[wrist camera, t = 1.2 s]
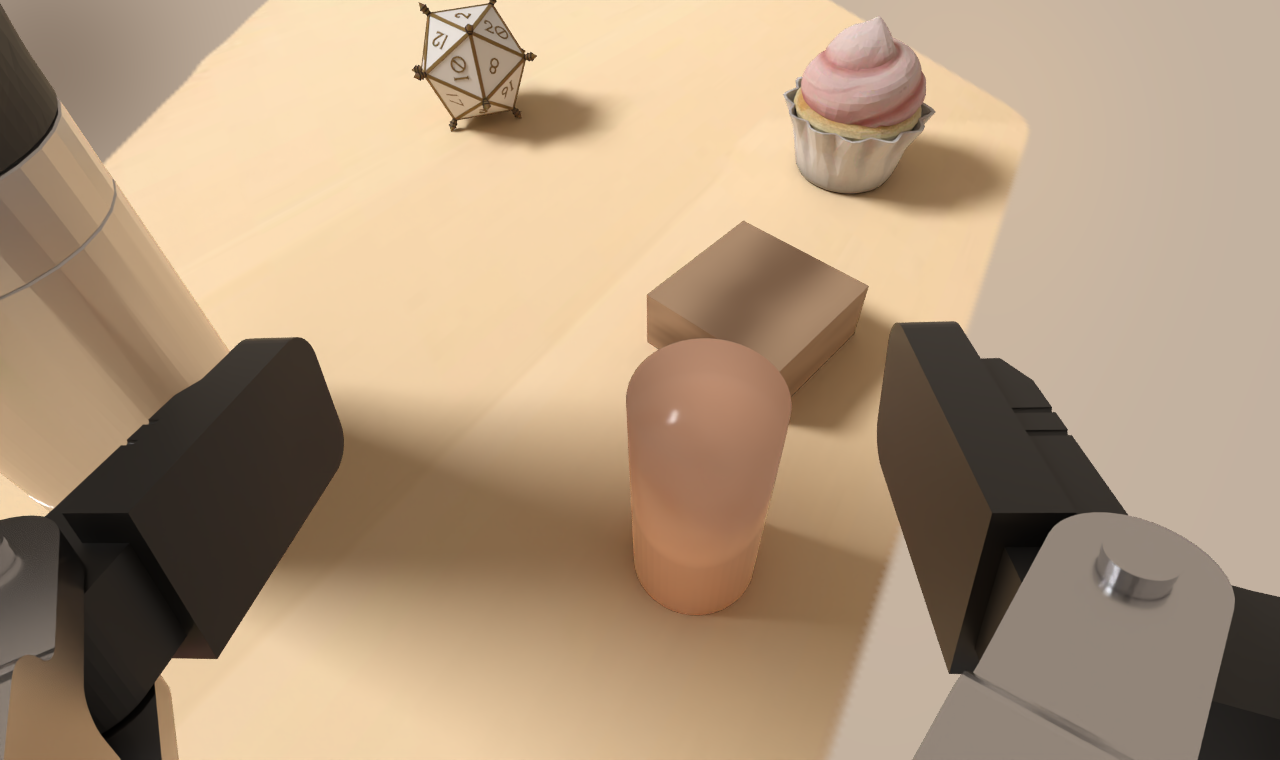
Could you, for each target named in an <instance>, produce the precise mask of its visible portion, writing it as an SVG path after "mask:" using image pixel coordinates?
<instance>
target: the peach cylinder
mask: <svg viewBox="0 0 1280 760" xmlns="http://www.w3.org/2000/svg"><path fill="white" fill-rule="evenodd" d="M791 407H792V403H791V395H790V392H789V389H788V386H787V384H786V382H785V380H784V378H783V377H782V375H781V374H780V372H779V371H778V370H777V369H776V367H775V366H774V365H773V364H772V363H771V362H770V361H768V360H767V359H766V358H765V357H763V356H762V355H760V354H759V353H757V352H756V351H754V350H752V349H750V348H748V347H745V346H743V345H741V344H737V343H734V342H731V341H726V340H721V339H711V338H699V339H689V340H684V341H680V342H676V343H673V344H670V345H668V346H665V347H663V348H661V349H659V350H658V351H656V352H654V353H653V354H651V355H650V356H649V357H647V358H646V359H645V360H644V361H643V362H642V363H641V364H640V365H639V367H638V368H637V369H636V370H635V372H634V374H633V376H632V377H631V380H630V382H629V385H628V389H627V395H626V408H627V429H628V450H629V471H630V492H631V512H632V533H633V554H634V566H635V570H636V574H637V576H638V579H639V581H640V583H641V585H642V586H643V588H644V589H645V590H646V592H647V593H648V594H649V595H650V596H651V597H652V598H653V599H654V600H655V601H657V602H658V603H659V604H661V605H662V606H664V607H666V608H668V609H670V610H672V611H675V612H678V613H682V614H688V615H705V614H710V613H714V612H717V611H720V610H723V609H725V608H726V607H728V606H730V605H731V604H733V603H734V602H735V601H737V600H738V599H739V598H740V597H741V596H742V594H743V593H744V592H745V590H746V589H747V587H748V585H749V583H750V581H751V578H752V575H753V571H754V567H755V563H756V559H757V554H758V550H759V546H760V542H761V538H762V534H763V529H764V525H765V521H766V517H767V513H768V509H769V504H770V500H771V496H772V492H773V488H774V484H775V479H776V475H777V471H778V467H779V463H780V459H781V454H782V450H783V446H784V442H785V438H786V434H787V429H788V425H789V421H790V416H791Z"/></svg>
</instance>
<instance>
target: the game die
mask: <svg viewBox="0 0 1280 760" xmlns="http://www.w3.org/2000/svg"><path fill="white" fill-rule="evenodd" d="M495 2H497V1H496V0H490V1H489V3H488V4H482V5H475V6H469V7H463V8H456V9H450V10H444V11H437V12H430V11H429V8H427V6H426V4H425V5H424V4H422V3H419V5H420V11H422V12H423V14H426V15H427V23H426V32H425V40H424V49H423V57H422V66H419V65H418V66H415V67H414V68H413V69H412V71H414V72H415V76H414V78H417V79H418V80H420V81H421V79H423V80H424V78H426V80H427V81H428V83H429V84H430V86H431V87H432V88H433V90H434V91H435V93H436V94H437V96H438V97H439V99H440V100H441V102H442V103H443V105H444V106H445V108H446V109H447V111H448V112H449V114H450V115H451V116H452V118H453V119H452V121H450V122H451V123H450V124H449V125H450V129H451V131H453V130H454V129H455V128H456V125H457V120H461V119H467V118H472V117H477V116H483V115H488V114H494V113H499V112H505V111H510V110H512V112H513V114H514V115H515V117H519V118H521V113H520V112H521V111H519V110H518V109H516V108H515V103H516V99H517V95H518V90H519V86H520V82H521V78H522V74H523V69H524V65H525V61H526V60H528V61H530V60H532V61H533V60H534V58H536V57H537V56H536V55H534V54H533V53H531V52H530V53H527V54H526V55H525V54H524V53H525V50H523V49H522V48H521V47H520V46H519V44H518V43H517V41H516V40H515V38H514V37H513V35H512V33H511V32H510V30H509V29H508V27H507V26H506V24H505V22H504V21H503V19H502V18H501V16H500V15H499V13H498V12H497V10H496V8H495V7H494V4H495Z"/></svg>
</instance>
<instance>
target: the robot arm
mask: <svg viewBox="0 0 1280 760" xmlns="http://www.w3.org/2000/svg"><path fill="white" fill-rule="evenodd" d="M1051 410H1052V407H1051V405H1050V404H1049V402H1048V401H1047V400H1046V398H1045V397H1044V395H1043V394H1042V393H1041V391H1040V390H1039V388H1038V387H1037V386H1036V384H1035V383H1034V381H1033V380H1032V379H1030V378H1029V377H1027V376H1025V375H1024V374H1023V373H1021V372H1020V371H1018V370H1017V369H1015V368H1014V367H1012V366H1010V365H1009V364H1008V363H1006V362H1005V361H1003V360H1002V359H1000V358H989V359H988V358H987V359H980V357H979V355H978V354H977V352H976V351H975V349H974V347H973V346H972V344H971V343H970V341H969V339H968V338H967V336H966V335H965V333H964V331H963V330H962V328H961V327H960V325H959V324H958V323H957V322H954V321H949V322H911V323H895V324H894V325H893V327H892V329H891V332H890V336H889V342H888V348H887V356H886V363H885V370H884V377H883V385H882V392H881V399H880V406H879V413H878V422H877V445H878V454H879V460H880V464H881V468H882V471H883V474H884V477H885V480H886V483H887V486H888V489H889V492H890V495H891V498H892V501H893V504H894V508H895V511H896V514H897V517H898V520H899V523H900V526H901V529H902V532H903V535H904V538H905V541H906V544H907V547H908V550H909V553H910V556H911V559H912V562H913V565H914V568H915V571H916V575H917V578H918V581H919V584H920V587H921V590H922V593H923V596H924V599H925V602H926V605H927V608H928V611H929V614H930V617H931V620H932V623H933V626H934V629H935V632H936V636H937V639H938V642H939V644H940V648H941V651H942V654H943V657H944V660H945V663H946V666H947V669H948V672H949V674H961V676H960V677H959V679H958V680H957V682H956V683H955V685H954V686H953V688H952V690H951V691H950V693H949V695H948V697H947V699H946V700H945V702H944V704H943V706H942V708H941V709H940V711H939V713H938V715H937V716H936V718H935V720H934V722H933V724H932V725H931V727H930V729H929V731H928V733H927V734H926V736H925V738H924V740H923V742H922V743H921V745H920V747H919V749H918V751H917V752H916V754H915V756H914V758H913V760H1280V597H1277V596H1272V595H1268V594H1264V593H1259V592H1254V591H1251V590H1246V589H1243V588H1239V587H1236V586H1232V585H1231V584H1230V582H1229V580H1228V578H1227V576H1226V575H1225V573H1224V572H1223V571H1222V569H1221V568H1220V567H1219V565H1218V564H1217V563H1216V562H1215V561H1214V560H1213V559H1212V558H1211V557H1210V556H1209V555H1208V554H1206V553H1205V552H1204V551H1203V550H1201V549H1200V548H1199V547H1198V546H1197V545H1195V544H1193V543H1192V542H1190V541H1189V540H1187V539H1186V538H1184V537H1182V536H1181V535H1179V534H1177V533H1175V532H1173V531H1171V530H1169V529H1167V528H1164V527H1162V526H1160V525H1158V524H1155V523H1153V522H1149V521H1146V520H1143V519H1140V518H1136V517H1132V516H1128V514H1127V513H1126V511H1125V510H1124V509H1123V507H1122V506H1121V504H1120V503H1119V502H1118V500H1117V499H1116V497H1115V496H1114V494H1113V493H1112V492H1111V490H1110V489H1109V487H1108V486H1107V485H1106V483H1105V482H1104V481H1103V479H1102V478H1101V476H1100V475H1099V473H1098V472H1097V470H1096V469H1095V468H1094V466H1093V465H1092V463H1091V462H1090V460H1089V459H1088V458H1087V456H1086V455H1085V453H1084V452H1083V451H1082V449H1081V448H1080V446H1079V445H1078V443H1077V442H1076V441H1075V439H1074V438H1073V436H1072V435H1068V434H1067V430H1068V429H1067V428H1066V426H1065V425H1064V424H1063V422H1062V421H1061V419H1060V418H1059V417H1058V415H1057V414H1056V413H1055V412H1053V413H1052V411H1051ZM343 447H344V438H343V431H342V427H341V423H340V420H339V418H338V415H337V412H336V409H335V407H334V404H333V401H332V398H331V396H330V393H329V390H328V387H327V385H326V382H325V379H324V376H323V374H322V371H321V368H320V365H319V362H318V360H317V357H316V354H315V352H314V350H313V348H312V346H311V345H310V344H309V343H308V342H307V341H306V340H305V339H303V338H299V337H293V338H255V339H245V340H243V341H241V342H240V343H239V344H238V345H237V346H236V347H235V348H234V349H232V350H231V351H229V350H228V348H227V347H226V345H225V344H224V342H223V341H222V339H221V338H220V336H219V335H218V333H217V332H216V331H215V329H214V328H213V326H212V325H211V323H210V322H209V320H208V319H207V317H206V316H205V314H204V313H203V311H202V310H201V308H200V307H199V305H198V304H197V302H196V301H195V299H194V298H193V296H192V295H191V293H190V292H189V290H188V289H187V287H186V286H185V284H184V283H183V282H182V280H181V279H180V277H179V276H178V274H177V273H176V271H175V270H174V268H173V267H172V265H171V264H170V262H169V261H168V259H167V258H166V256H165V255H164V253H163V252H162V250H161V249H160V247H159V246H158V244H157V243H156V241H155V240H154V238H153V237H152V235H151V234H150V233H149V231H148V230H147V228H146V227H145V225H144V224H143V222H142V221H141V219H140V218H139V216H138V215H137V213H136V212H135V210H134V209H133V207H132V206H131V204H130V203H129V201H128V200H127V198H126V197H125V195H124V194H123V192H122V191H121V189H120V188H119V186H118V185H117V184H116V182H115V181H114V179H113V178H112V176H111V175H110V173H109V172H108V171H107V169H106V168H105V167H104V165H103V164H102V162H101V161H100V159H99V158H98V156H97V155H96V153H95V152H94V150H93V149H92V147H91V146H90V144H89V143H88V141H87V140H86V138H85V137H84V136H83V134H82V132H81V131H80V129H79V128H78V126H77V125H76V123H75V122H74V120H73V119H72V117H71V116H70V114H69V113H68V111H67V110H66V108H65V107H64V105H63V104H62V103H61V101H60V100H59V98H58V97H57V95H56V93H55V91H54V89H53V88H52V86H51V85H50V83H49V82H48V80H47V79H46V77H45V76H44V74H43V73H42V71H41V70H40V69H39V67H38V66H37V64H36V63H35V61H34V60H33V58H32V57H31V55H30V54H29V52H28V50H27V49H26V47H25V45H24V44H23V42H22V41H21V39H20V37H19V36H18V34H17V32H16V30H15V29H14V27H13V25H12V23H11V21H10V20H9V18H8V16H7V14H6V13H5V11H4V9H3V7H2V6H1V4H0V473H1V474H3V475H4V476H5V477H6V478H8V479H9V480H10V481H11V482H13V483H14V484H15V485H17V486H18V487H19V488H20V489H22V490H23V491H24V492H26V493H27V494H28V495H29V496H30V497H31V498H33V499H34V500H35V501H36V502H38V503H39V504H40V505H42V506H43V507H44V508H45V509H47V510H48V511H49V513H48V514H47V515H46V516H45V517H41V516H20V517H13V518H8V519H4V520H0V760H179V757H178V748H177V740H176V731H175V723H174V714H173V705H172V697H171V692H170V688H169V686H168V685H167V683H166V682H165V680H164V679H163V677H162V676H161V673H162V671H163V670H164V668H165V667H166V666H167V664H168V663H169V661H170V660H171V658H193V659H218V657H219V655H220V654H221V652H222V651H223V649H224V648H225V646H226V644H227V643H228V641H229V640H230V638H231V637H232V635H233V633H234V632H235V630H236V629H237V627H238V625H239V624H240V622H241V621H242V619H243V618H244V616H245V614H246V613H247V611H248V610H249V608H250V607H251V605H252V603H253V602H254V600H255V599H256V597H257V596H258V594H259V592H260V591H261V589H262V588H263V586H264V585H265V583H266V581H267V580H268V578H269V577H270V575H271V574H272V572H273V570H274V569H275V567H276V566H277V564H278V563H279V561H280V559H281V558H282V556H283V555H284V553H285V552H286V550H287V548H288V547H289V545H290V544H291V542H292V540H293V539H294V537H295V536H296V534H297V533H298V531H299V529H300V528H301V526H302V525H303V523H304V522H305V520H306V518H307V517H308V515H309V514H310V512H311V511H312V509H313V507H314V506H315V504H316V503H317V501H318V500H319V498H320V496H321V495H322V493H323V492H324V490H325V489H326V487H327V485H328V484H329V482H330V481H331V479H332V478H333V476H334V474H335V473H336V471H337V469H338V468H339V465H340V463H341V459H342V455H343Z"/></svg>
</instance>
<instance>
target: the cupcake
mask: <svg viewBox="0 0 1280 760" xmlns="http://www.w3.org/2000/svg"><path fill="white" fill-rule="evenodd" d="M796 87H797V88H794V89H792V90H789V91H787V92H785V93H784V94H783V95H784V98H785V101H786V103H787V106H788V109H789V114H790V117H791V120H792V123H793V131H794V143H795V155H796V164H797V166H798V168H799V170H800V172H801V174H802V175H803V176H804V177H805V178H806V179H807V180H808V181H809V182H811V183H812V184H814V185H816V186H818V187H820V188H823V189H825V190H829V191H833V192H839V193H851V194H852V193H861V192H866V191H870V190H873V189H875V188H877V187H879V186H880V185H882V184H883V183H884V182H885V181H886V180H887V179H888V178H889V177H890V176H891V174H892V172H893V171H894V169H895V167H896V166H897V164H898V162H899V160H900V158H901V157H902V155H903V153H904V151H905V149H906V148H907V147H908V146H909V145H910V144H911V143H912V142H913V141H914V140H915V139H916V138H917V137H918V136H919V135H920V133H921V132H922V131H923V129H924V127H925V126H924V124H925V123H926V122H927V121H928V120H929V119H930V117H931V116H932V115H933V114H934V113H935V111H934V110H933V109H932V108H931V107H929V106H928V105H926V104H925V103H923V101H924V98H925V95H926V79H925V76H924V74H923V73H922V71H921V65H920V62H919V59H918V57H917V56H916V54H915V53H914V51H913V50H912V49H911V48H910V47H909V46H907V45H905V44H904V43H903V42H901V41H899V40H897V39H895V38H893V37H892V35H891V33H890V31H889V29H888V27H887V26H886V24H885V22H884V21H883V19H882V18H881V17H880V16H877V17H875V18H873V19H871V20H869V21H866V22H864V23H860V24H855V25H852V26H850V27H848V28H846V29H844V30H843V31H842V32H841V33H839V34H838V35H837V36H836V37H835V38H834V39H833V40H832V41H831V43H830V44H829V45H828V46H827V48H826V50H825V51H823V52H821V53H820V54H818V55H817V56H816V57H815V58H814V59H813V60H812V61H811V62H810V63H809V64H808V66H807V67H806V69H805V71H804V73H803V77H798V78H797V79H796Z"/></svg>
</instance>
